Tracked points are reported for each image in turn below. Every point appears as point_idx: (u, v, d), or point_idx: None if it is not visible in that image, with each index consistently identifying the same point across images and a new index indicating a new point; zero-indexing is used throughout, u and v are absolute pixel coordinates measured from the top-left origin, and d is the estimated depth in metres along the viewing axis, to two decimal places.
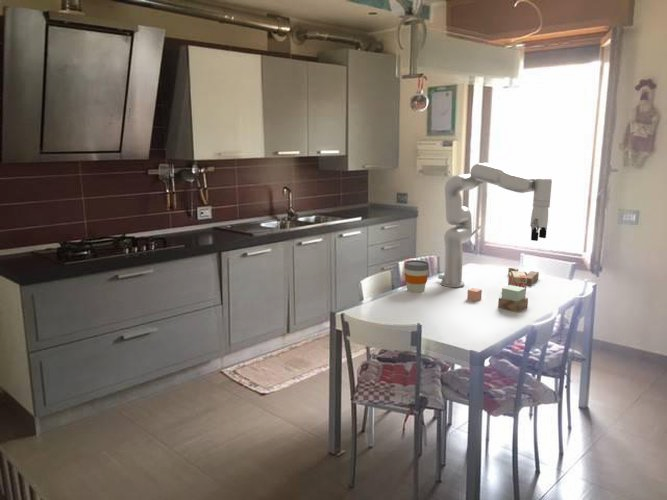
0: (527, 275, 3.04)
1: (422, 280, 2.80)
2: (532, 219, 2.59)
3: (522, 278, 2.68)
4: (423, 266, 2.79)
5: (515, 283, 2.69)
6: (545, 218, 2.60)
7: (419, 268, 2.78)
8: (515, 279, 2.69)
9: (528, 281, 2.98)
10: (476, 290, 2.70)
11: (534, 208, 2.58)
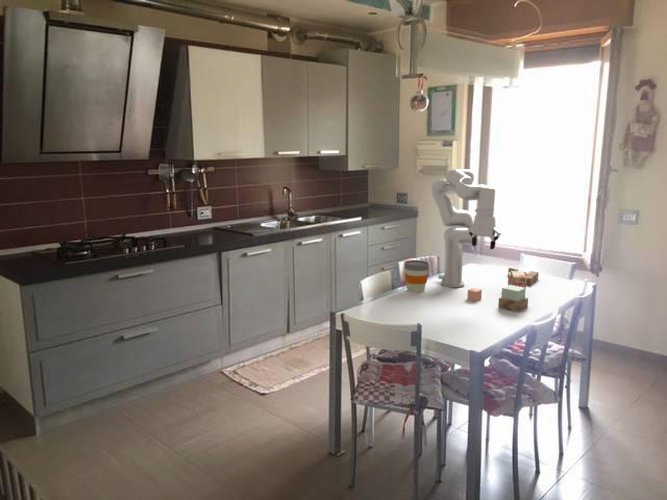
0: (527, 275, 3.03)
1: (422, 280, 2.80)
2: (492, 229, 2.60)
3: (522, 278, 2.68)
4: (423, 266, 2.79)
5: (515, 283, 2.69)
6: None
7: (419, 268, 2.78)
8: (515, 279, 2.69)
9: (527, 281, 2.98)
10: (476, 290, 2.70)
11: (492, 217, 2.59)
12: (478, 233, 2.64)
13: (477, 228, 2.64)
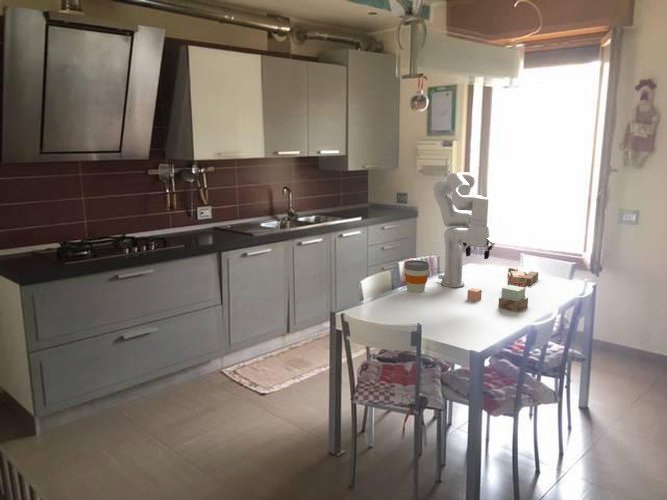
0: (526, 275, 3.03)
1: (422, 280, 2.80)
2: (486, 239, 2.61)
3: (521, 278, 2.68)
4: (423, 266, 2.79)
5: (514, 283, 2.69)
6: None
7: (419, 268, 2.78)
8: (514, 279, 2.69)
9: (527, 281, 2.98)
10: (476, 290, 2.70)
11: (485, 228, 2.61)
12: (472, 243, 2.65)
13: (471, 238, 2.65)
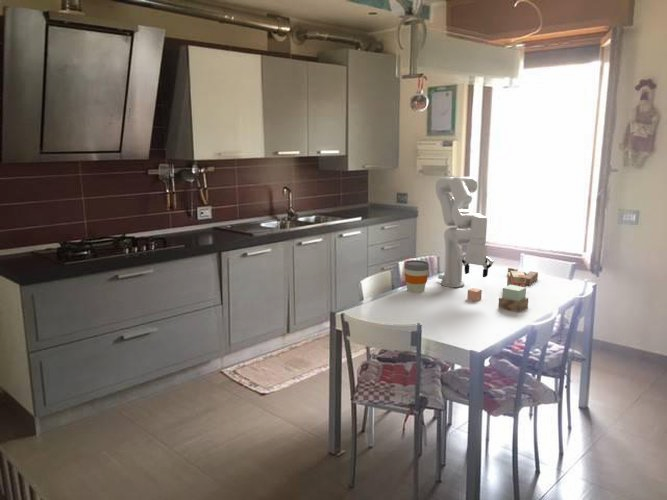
0: (526, 275, 3.03)
1: (422, 280, 2.80)
2: (484, 257, 2.63)
3: (521, 278, 2.68)
4: (423, 266, 2.79)
5: (514, 283, 2.69)
6: None
7: (419, 268, 2.78)
8: (514, 279, 2.69)
9: (526, 281, 2.98)
10: (476, 290, 2.70)
11: (484, 246, 2.63)
12: (471, 261, 2.67)
13: (470, 256, 2.67)
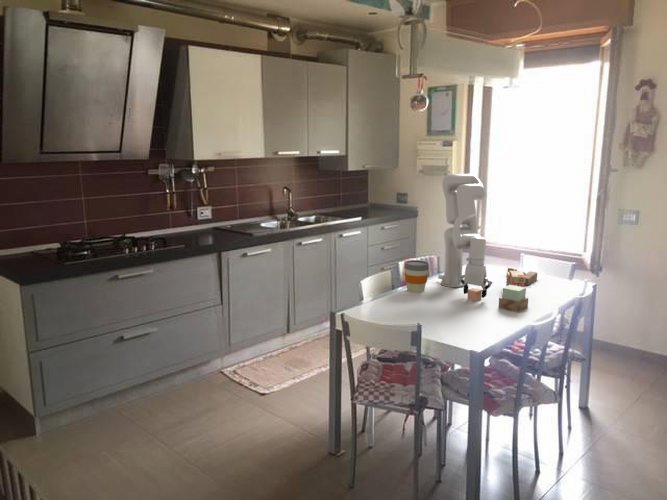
0: (525, 275, 3.03)
1: (422, 280, 2.80)
2: (483, 278, 2.65)
3: (520, 278, 2.69)
4: (423, 266, 2.79)
5: (513, 283, 2.70)
6: None
7: (419, 268, 2.78)
8: (513, 279, 2.70)
9: (525, 281, 2.98)
10: (476, 290, 2.70)
11: (483, 267, 2.65)
12: (470, 282, 2.69)
13: (468, 277, 2.69)
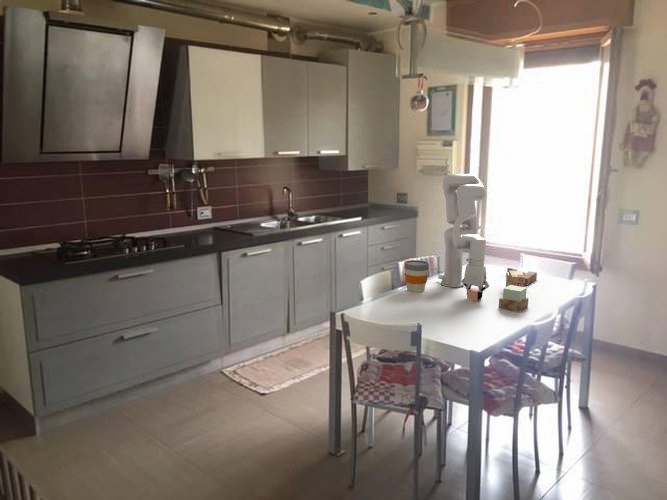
0: (524, 275, 3.03)
1: (422, 280, 2.80)
2: (483, 278, 2.65)
3: (520, 277, 2.69)
4: (423, 266, 2.79)
5: (513, 282, 2.70)
6: None
7: (419, 268, 2.78)
8: (513, 278, 2.70)
9: None
10: (476, 290, 2.70)
11: (483, 268, 2.65)
12: (469, 282, 2.69)
13: (468, 277, 2.69)
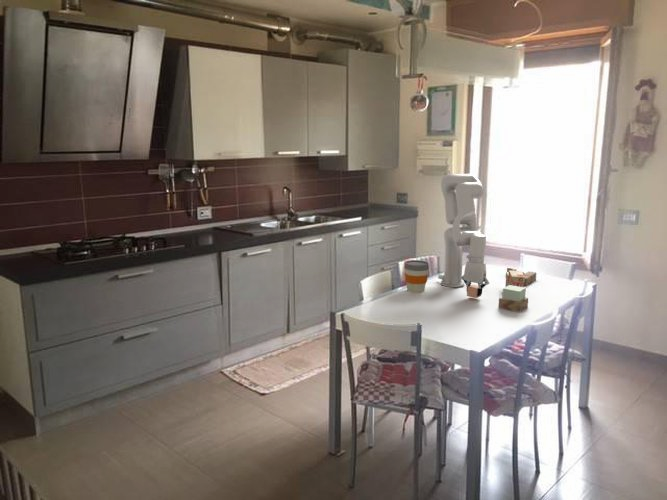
0: None
1: (422, 280, 2.80)
2: (483, 275, 2.65)
3: (520, 277, 2.69)
4: (423, 266, 2.79)
5: (513, 282, 2.70)
6: None
7: (419, 268, 2.78)
8: (513, 278, 2.70)
9: None
10: (476, 287, 2.70)
11: (483, 265, 2.65)
12: (469, 279, 2.69)
13: (468, 274, 2.69)
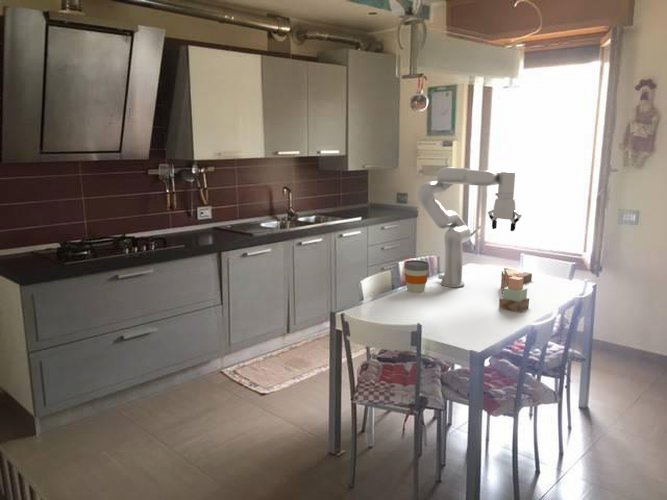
0: None
1: (422, 280, 2.80)
2: (512, 211, 2.70)
3: (516, 276, 2.71)
4: (423, 266, 2.79)
5: None
6: None
7: (419, 268, 2.78)
8: (509, 277, 2.72)
9: None
10: (518, 278, 2.55)
11: (512, 200, 2.70)
12: (499, 216, 2.74)
13: (498, 211, 2.74)
